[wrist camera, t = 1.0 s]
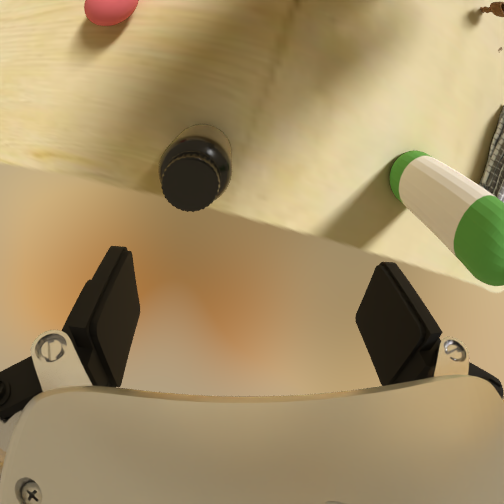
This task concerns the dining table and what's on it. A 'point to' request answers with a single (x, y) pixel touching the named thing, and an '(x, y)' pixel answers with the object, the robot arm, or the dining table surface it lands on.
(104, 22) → the ball
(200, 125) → the supplement bottle
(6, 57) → the dining table surface
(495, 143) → the towel
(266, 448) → the robot arm
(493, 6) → the place setting
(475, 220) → the wine bottle
